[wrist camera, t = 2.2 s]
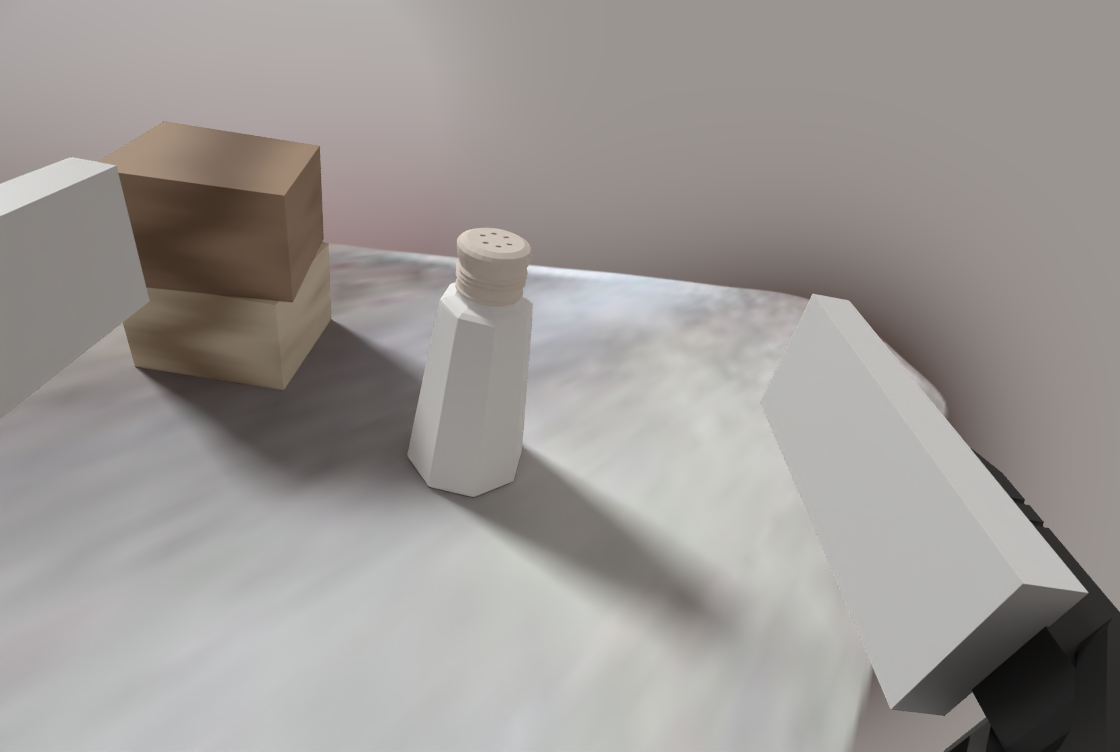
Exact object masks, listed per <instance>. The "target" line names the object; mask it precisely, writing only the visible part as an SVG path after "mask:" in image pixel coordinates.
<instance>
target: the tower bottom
mask: <svg viewBox="0 0 1120 752" xmlns="http://www.w3.org/2000/svg"><path fill="white" fill-rule="evenodd" d="M147 293H148V297H149V302H148V303H147V304H145V305H144V306H143V307H141V308H140V309H139V310H138V311H136V312H135V313H134V314H133V315H131V316H130V317H129V318H127V319H126V320H125V321H124V322H123V325H124V328H125V332H126V336H127V339H128V343H129V346H130V350H131V354H132V357H133V361H134V364H135V367H141V368H148V369H154V370H160V371H166V372H173V373H179V374H185V375H191V376H198V377H204V378H210V379H216V380H223V381H229V382H235V383H241V384H248V385H254V386H260V387H266V388H273V389H279V390H284V389H285V388H286V386H287V385H288V383H289V382H290V380H291V379H292V377H293V376H294V374H295V373H296V371H297V370H298V368H299V367H300V365H301V364H302V362H303V361H304V359H305V358H306V356H307V355H308V353H309V352H310V350H311V349H312V347H313V346H314V344H315V343H316V341H317V340H318V338H319V337H320V335H321V334H322V332H323V331H324V329H325V328H326V326H327V325H328V323H329V322H330V320H331V297H330V271H329V244H328V243H325V242H322V243H321V245H320V247H319V249H318V251H317V254H316V256H315V258H314V260H313V262H312V264H311V266H310V268H309V270H308V272H307V274H306V276H305V278H304V281H303V283H302V285H301V287H300V289H299V291H298V293H297V295H296V297H295V299H294V301H293V303H292V302H283V301H273V300H263V299H254V298H244V297H234V296H224V295H215V294H205V293H195V292H185V291H176V290H166V289H156V288H147Z"/></svg>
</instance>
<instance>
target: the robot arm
mask: <svg viewBox="0 0 1120 752" xmlns="http://www.w3.org/2000/svg"><path fill="white" fill-rule="evenodd" d="M148 302H149V297H148V293H147V288H146V284H145V280H144V276H143V272H142V268H141V264H140V260H139V256H138V252H137V248H136V243H135V239H134V235H133V231H132V227H131V223H130V219H129V215H128V211H127V207H126V203H125V198H124V194H123V190H122V186H121V182H120V178H119V174H118V170H117V166H116V165H111V164H106V163H100V162H95V161H89V160H84V159H79V158H72V157H70V158H67V159H65V160H62V161H59V162H57V163H54V164H51V165H49V166H47V167H44V168H41V169H38V170H36V171H33V172H30V173H28V174H25V175H23V176H20V177H17V178H15V179H12V180H9V181H7V182H4V183H1V184H0V419H1V418H2V417H3V416H5V415H6V414H7V413H8V412H10V411H11V410H12V409H13V408H15V407H16V406H17V405H18V404H20V403H21V402H22V401H24V400H25V399H26V398H27V397H29V396H30V395H31V394H32V393H34V392H35V391H36V390H37V389H39V388H40V387H41V386H43V385H44V384H45V383H46V382H48V381H49V380H50V379H51V378H53V377H54V376H55V375H57V374H58V373H59V372H60V371H62V370H63V369H64V368H65V367H67V366H68V365H69V364H70V363H72V362H73V361H74V360H76V359H77V358H78V357H79V356H81V355H82V354H83V353H84V352H86V351H87V350H88V349H89V348H91V347H92V346H93V345H95V344H96V343H97V342H98V341H100V340H101V339H102V338H103V337H105V336H106V335H107V334H108V333H110V332H111V331H112V330H114V329H115V328H116V327H117V326H119V325H120V324H121V323H122V322H124V321H125V320H126V319H127V318H129V317H130V316H131V315H133V314H134V313H135V312H136V311H138V310H139V309H140V308H141V307H143V306H144V305H145V304H147V303H148ZM760 403H761V405H762V408H763V410H764V413H765V415H766V417H767V420H768V422H769V424H770V427H771V429H772V431H773V434H774V436H775V438H776V441H777V443H778V445H779V448H780V450H781V452H782V455H783V457H784V460H785V462H786V464H787V467H788V469H789V471H790V474H791V476H792V478H793V481H794V483H795V485H796V488H797V490H798V492H799V495H800V497H801V499H802V502H803V504H804V507H805V509H806V511H807V514H808V516H809V518H810V521H811V523H812V525H813V528H814V530H815V532H816V535H817V537H818V539H819V542H820V544H821V547H822V549H823V551H824V554H825V556H826V558H827V561H828V563H829V565H830V568H831V570H832V572H833V575H834V577H835V579H836V582H837V584H838V586H839V589H840V591H841V594H842V596H843V598H844V601H845V603H846V605H847V608H848V610H849V612H850V615H851V617H852V619H853V622H854V624H855V626H856V629H857V631H858V633H859V636H860V638H861V641H862V643H863V645H864V648H865V650H866V652H867V655H868V657H869V659H870V662H871V664H872V666H873V669H874V671H875V673H876V676H877V678H878V680H879V683H880V685H881V687H882V690H883V692H884V695H885V696H886V699H887V702H888V704H889V706H890V709H892V710H900V711H908V712H917V713H926V714H934V715H942V716H945V715H946V714H947V713H948V712H950V711H951V710H952V709H953V708H954V707H955V706H957V705H958V704H959V703H960V702H961V701H962V700H964V699H965V698H966V697H967V696H968V695H969V694H971V693H972V692H973V694H974V695H975V697H976V699H977V701H978V703H979V705H980V706H981V708H982V710H983V712H984V714H985V716H986V718H985V719H983V720H982V721H981V722H979V723H978V724H977V725H976V726H974V727H973V728H972V729H971V730H969V731H968V732H967V733H966V734H964V735H963V736H962V737H961V738H959V739H958V740H957V741H955V742H954V743H953V744H952V745H950V746H949V747H948V748H947V749H945V751H944V752H1120V612H1119V611H1118V610H1117V608H1116V607H1115V606H1114V605H1113V604H1112V603H1111V602H1110V600H1109V599H1108V598H1107V597H1106V596H1105V594H1104V593H1103V592H1102V591H1101V589H1100V588H1099V587H1098V586H1097V585H1096V584H1095V582H1094V581H1093V580H1092V579H1091V578H1090V576H1089V575H1088V574H1087V573H1086V572H1085V571H1084V569H1083V568H1082V567H1081V566H1080V565H1079V563H1078V562H1077V561H1076V560H1075V559H1074V558H1073V556H1072V555H1071V554H1070V553H1069V552H1068V550H1067V549H1066V548H1065V547H1064V546H1063V544H1062V543H1061V542H1060V541H1059V540H1058V539H1057V537H1056V536H1055V535H1054V534H1053V533H1052V531H1051V530H1050V529H1049V528H1044V527H1043V523H1044V522H1043V521H1042V520H1041V519H1040V517H1039V516H1038V515H1037V514H1036V512H1035V511H1034V510H1033V509H1032V508H1031V506H1029V505H1025V504H1024V501H1025V499H1024V498H1023V497H1022V496H1021V495H1020V493H1019V492H1018V491H1017V490H1016V489H1015V488H1014V486H1013V485H1012V484H1011V483H1010V482H1009V480H1008V479H1007V478H1006V477H1005V476H1004V475H1003V473H1002V472H1000V471H999V470H998V469H997V468H995V467H994V466H993V465H991V464H990V463H989V462H988V461H986V460H985V459H984V458H983V457H981V456H980V455H979V454H978V453H976V452H975V451H974V450H973V449H971V448H969V447H968V445H967V444H966V443H965V442H964V440H963V439H962V438H961V437H960V435H959V434H958V433H957V432H956V431H955V429H954V428H953V427H952V426H951V424H950V423H949V422H948V421H947V420H946V418H945V417H944V416H943V415H942V413H941V412H940V411H939V410H938V409H937V407H936V406H935V405H934V404H933V402H932V401H931V400H930V399H929V398H928V396H927V395H926V394H925V393H924V392H923V390H922V389H921V388H920V387H919V385H918V384H917V383H916V382H915V381H914V379H913V378H912V377H911V376H910V374H909V373H908V372H907V371H906V370H905V368H904V367H903V366H902V365H901V363H900V362H899V361H898V360H897V359H896V357H895V356H894V355H893V354H892V352H891V351H890V350H889V349H888V348H887V346H886V345H885V344H884V343H883V341H882V340H881V339H880V338H879V337H878V335H877V334H876V333H875V332H874V331H873V329H872V328H871V327H870V326H869V324H868V323H867V322H866V321H865V320H864V318H863V317H862V316H861V315H860V313H859V312H858V311H857V310H856V309H855V307H854V306H853V305H852V304H851V302H850V301H848V300H843V299H838V298H831V297H827V296H821V295H815V294H812V296H811V298H810V300H809V302H808V305H807V307H806V309H805V311H804V313H803V315H802V317H801V319H800V321H799V323H798V325H797V327H796V329H795V331H794V333H793V335H792V337H791V340H790V342H789V344H788V346H787V348H786V350H785V352H784V354H783V356H782V358H781V360H780V362H779V364H778V366H777V368H776V370H775V373H774V375H773V377H772V379H771V381H770V383H769V385H768V387H767V389H766V391H765V393H764V395H763V397H762V399H761V401H760Z"/></svg>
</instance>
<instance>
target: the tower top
mask: <svg viewBox="0 0 1120 752" xmlns="http://www.w3.org/2000/svg"><path fill="white" fill-rule="evenodd" d="M98 162H100V163H106V164H111V165H116V166H117V170H118V174H119V178H120V182H121V186H122V190H123V194H124V198H125V203H126V207H127V211H128V215H129V219H130V223H131V227H132V231H133V235H134V239H135V243H136V248H137V252H138V256H139V260H140V264H141V268H142V272H143V276H144V280H145V284H146V288H156V289H166V290H176V291H185V292H195V293H205V294H215V295H224V296H234V297H244V298H254V299H263V300H273V301H283V302H292V303H293V301H294V299H295V297H296V295H297V293H298V291H299V289H300V287H301V285H302V283H303V281H304V278H305V276H306V274H307V272H308V270H309V268H310V266H311V264H312V262H313V260H314V258H315V256H316V254H317V251H318V249H319V247H320V245H321V243H322V241H323V239H324V238H323V214H322V189H321V166H320V146H317V145H310V144H304V143H298V142H290V141H285V140H279V139H272V138H266V137H259V136H253V135H246V134H240V133H234V132H227V131H221V130H215V129H208V128H202V127H195V126H189V125H183V124H177V123H170V122H164V121H163V122H162V123H160V124H159V125H157V126H155V127H154V128H152V129H151V130H149V131H147V132H146V133H144V134H142V135H141V136H139V137H137V138H136V139H134V140H132V141H131V142H129V143H128V144H126V145H124V146H123V147H121V148H120V149H118V150H116V151H115V152H113V153H111V154H110V155H108V156H106V157H105V158H103V159H102V160H100V161H98Z"/></svg>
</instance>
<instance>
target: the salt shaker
mask: <svg viewBox="0 0 1120 752" xmlns="http://www.w3.org/2000/svg"><path fill="white" fill-rule="evenodd" d="M457 252H458V257H459V258H458V260H457V265H456V276H457V280H456V283H452V284H450V286H449V287H448V289H447V290H446V292H445V293H444V295H443V296H442V298H441V299H440V302H439V306H438V310H437V313H436V317H435V322H434V327H433V332H432V337H431V341H430V346H429V351H428V356H427V361H426V366H425V371H424V375H423V380H422V385H421V390H420V395H419V400H418V405H417V410H416V414H415V419H414V424H413V429H412V434H411V439H410V444H409V448H408V453H407V456H408V458H409V459H410V460H411V462H412V463H413V465H414V466H415V468H416V469H417V470H418V472H419V473H420V475H421V476H422V478H423V479H424V481H425V482H426V483H427V485H428V486H429V487H432V488H436V489H440V490H445V491H449V492H453V493H457V494H461V495H465V496H470V497H476V496H478V495H481V494H483V493H486V492H488V491H491V490H493V489H496V488H498V487H501V486H503V485H505V484H508V483H510V482H512V481H514V477H515V474H516V470H517V466H518V463H519V459H520V456H521V452H522V443H523V430H524V417H525V405H526V392H527V379H528V367H529V354H530V341H531V329H532V305H533V304H532V303H531V302H530V301H529V300H528V299H526V298H525V297H524V296H523V289H522V288H523V287H524V286H525V283H526V282H525V281H526V276H527V267H528V265H529V263H530V261H531V259H532V255H533V251H532V248H531V246H530V245H529V244H528V242H527V241H526V240H524V239H523V238H521V237H519V236H518V235H516V234H513V233H511V232H508V231H505V230H500V229H495V228H477V229H471V230H467V231H466V232H464V233H462V234H461V235H460V236H459V238H458V239H457Z"/></svg>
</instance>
